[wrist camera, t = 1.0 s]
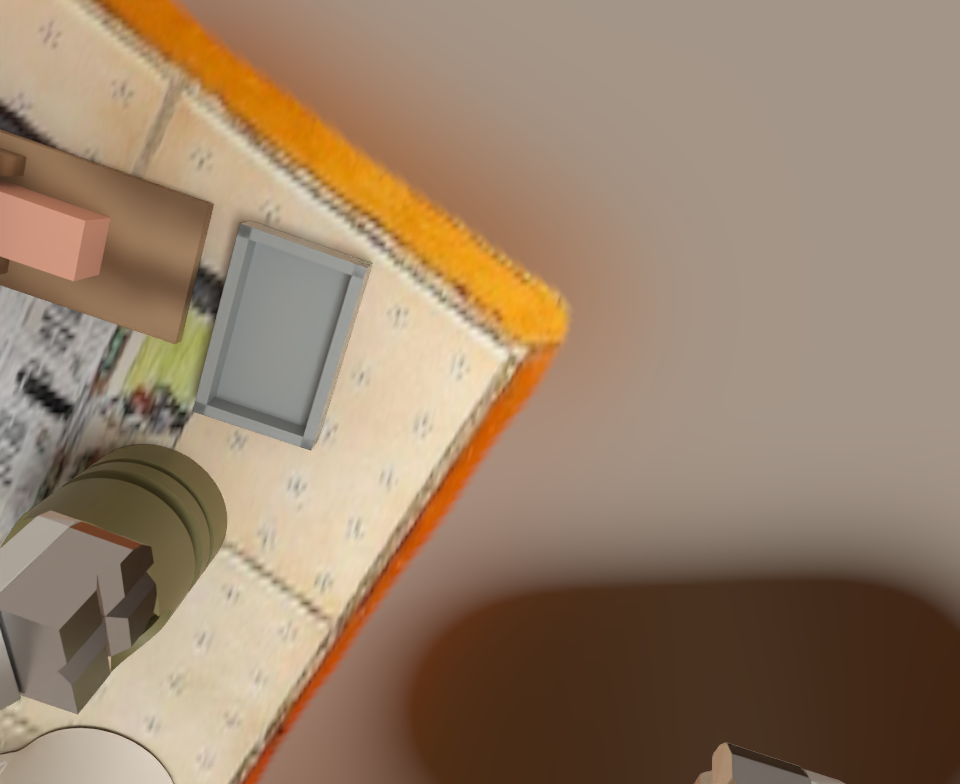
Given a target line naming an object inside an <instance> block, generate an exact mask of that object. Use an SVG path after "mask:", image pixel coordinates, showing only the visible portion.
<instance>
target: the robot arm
mask: <svg viewBox="0 0 960 784" xmlns="http://www.w3.org/2000/svg"><path fill="white" fill-rule="evenodd" d="M153 563H154V560H153V554H152V548H151V546H149V545H146V544H143V543H140V542H137V541H135V540H132V539H129V538H126V537H124V536H121V535H118V534H115V533H113V532H110V531H107V530H104V529H102V528H99V527H96V526H93V525H90V524H88V523H86V522H83V521H80V520H77V519H74V518H72V517H69V516H66V515H63V514H60V513H57V512H54V511H48V512H46V513H43V514H41V515H39V516H37V517H35V518H34V519H33V520H32V521H31V522H30V523H28V524H27V525H26V526H25V527H24V528H23V529H22V530H21V531H19V532H18V533H17V534H16V535H15V536H14V537H13V538H11V539H10V540H9V541H8V542H7V543H6V544H5V545H4V546H2V547H1V548H0V710H2V709H4V708H5V707H7V706H9V705H11V704H12V703H14V702H16V701H18V700H20V698H21V697H20V695H22V696H25V697H28V698H31V699H34V700H37V701H40V702H43V703H46V704H49V705H52V706H55V707H58V708H61V709H64V710H66V711H69V712H72V713H75V714H79V712H80V711H81V710H82V709H83V707H84V706H85V705H86V704H87V702H88V701H89V700H90V699H91V697H92V696H93V695H94V694H95V692H96V691H97V690H98V689H99V687H100V686H101V685H102V684H103V682H104V681H105V680H106V679H107V677H108V676H109V675H110V674H111V656H113V655H116V654H118V653H120V652H122V651H124V650H126V649H129V648H131V647H132V646H133V645H134V643H135V642H136V641H137V639H138V638H139V637H140V635H141V634H142V633H143V631H144V630H145V628H146V626H147V624H148V622H149V620H150V618H151V616H152V614H153V612H154V608H155V603H156V598H157V589H156V583H155V582H154V581H153V579H152V578H151V577H150V575H149V574H148V573H147V570H148V569H149V568H150V567H151V566H152V564H153ZM712 762H713V763H712V769H713V770H712V771H709V772H705V773H702V774H700V776H699V777H698V779H697V781H696V782H695V784H845V783H843V782H841V781H839V780H836V779H833V778H829V777H826V776H823V775H820V774H817V773H813V772H810V771H807V770H804V769H802V768H801V767H800V766H797V765H794V764H791V763H788V762H785V761H782V760H778V759H775V758H772V757H769V756H766V755H763V754H760V753H757V752H754V751H751V750H748V749H745V748H742V747H739V746H736V745H732V744H729V743H724V744H722V745H720V746H719V747H718V749H717V750H716V751H715V753H714V754H713V756H712ZM0 784H173V782H172V780H171V778H170V776H169V775H168V773H167V771H166V770H165V769H164V767H163V766H162V765H161V764H160V763H159V761H158V760H157V759H156V758H155V757H153V756H152V755H151V754H150V753H149V752H148V751H146V750H145V749H144V748H142V747H141V746H139V745H137V744H136V743H134V742H132V741H130V740H128V739H126V738H124V737H122V736H119V735H116V734H113V733H110V732H106V731H102V730H97V729H89V728H71V729H63V730H59V731H55V732H52V733H49V734H46V735H44V736H42V737H40V738H38V739H36V740H35V741H33V742H32V743H31V744H29V745H28V746H26V747H25V748H23V749H22V750H20V751H17V752H12V753H7V754H2V755H0Z"/></svg>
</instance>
